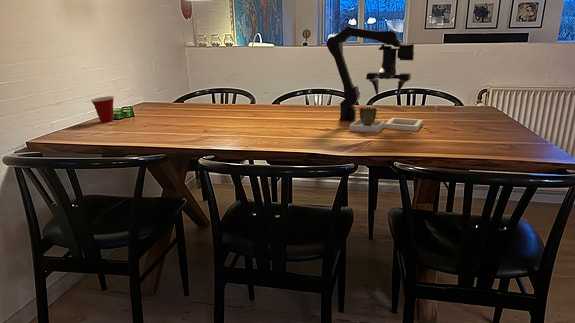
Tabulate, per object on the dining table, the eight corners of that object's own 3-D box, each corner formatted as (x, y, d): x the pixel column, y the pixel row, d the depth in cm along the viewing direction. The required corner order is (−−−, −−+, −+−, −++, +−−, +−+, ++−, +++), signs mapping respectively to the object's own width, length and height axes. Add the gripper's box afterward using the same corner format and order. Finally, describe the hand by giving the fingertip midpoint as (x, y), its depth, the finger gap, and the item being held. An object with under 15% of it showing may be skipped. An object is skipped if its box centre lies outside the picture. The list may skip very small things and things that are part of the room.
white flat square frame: (384, 128, 172) (384, 123, 171) (391, 121, 183) (392, 117, 182) (417, 130, 166) (417, 126, 165) (422, 124, 177) (422, 119, 176)
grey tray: (349, 130, 169) (349, 124, 168) (357, 124, 179) (358, 119, 178) (377, 133, 164) (377, 127, 163) (384, 126, 174) (384, 121, 173)
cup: (376, 129, 167) (377, 110, 164) (358, 128, 168) (359, 110, 166) (375, 125, 174) (376, 107, 171) (358, 124, 175) (359, 106, 173)
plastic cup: (95, 120, 202) (91, 96, 198) (118, 118, 205) (114, 95, 201) (93, 124, 192) (88, 100, 188) (116, 122, 195) (113, 98, 192)
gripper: (363, 61, 172) (362, 97, 177) (407, 62, 164) (404, 99, 169) (370, 59, 182) (369, 93, 187) (412, 60, 174) (409, 95, 179)
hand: (387, 95), depth 180 cm, fingers open, 9 cm apart
